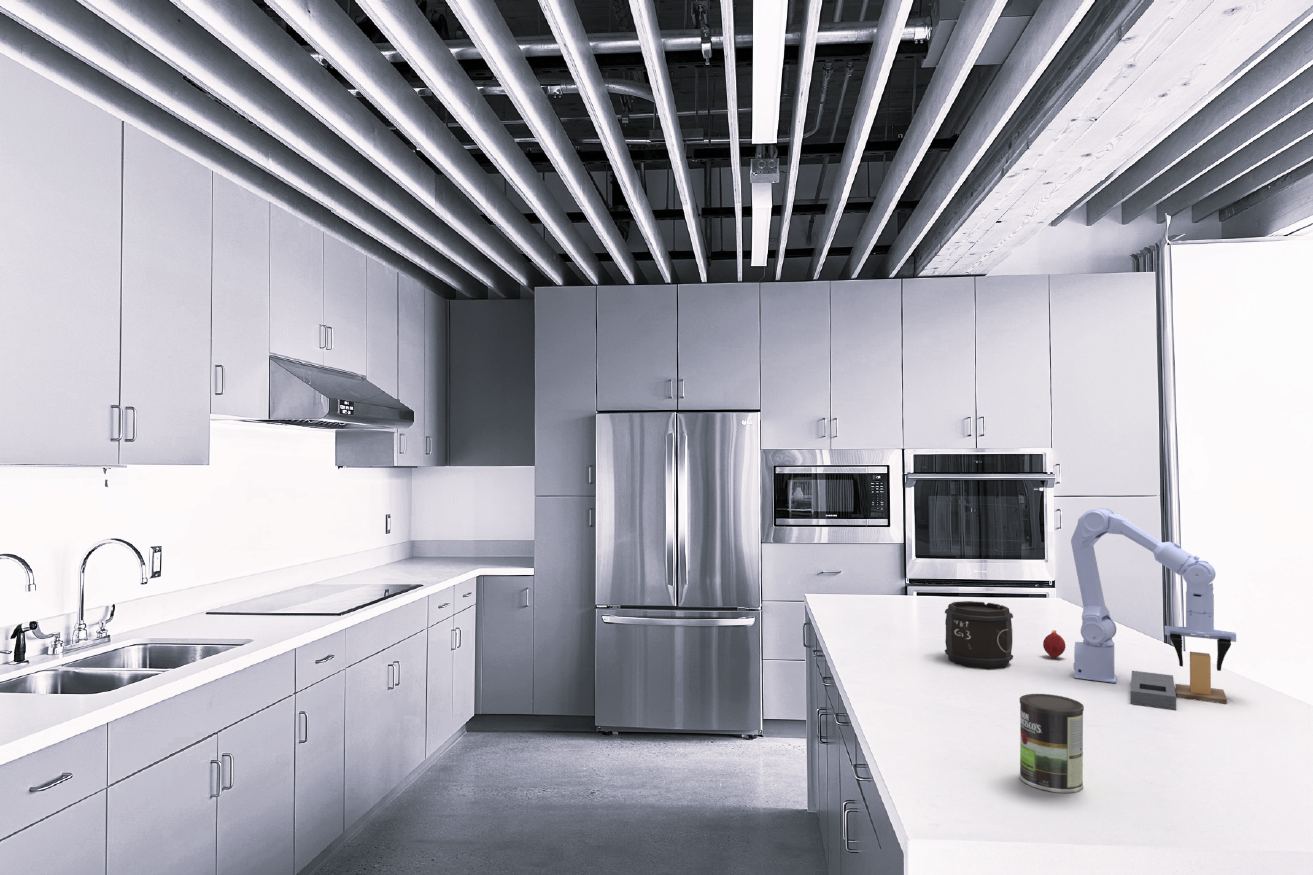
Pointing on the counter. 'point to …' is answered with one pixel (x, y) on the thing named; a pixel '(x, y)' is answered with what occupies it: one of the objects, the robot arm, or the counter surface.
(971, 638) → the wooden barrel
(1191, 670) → the peg
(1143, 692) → the grey slotted block
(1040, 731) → the coffee can
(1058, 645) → the onion
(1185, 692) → the board
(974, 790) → the counter surface
